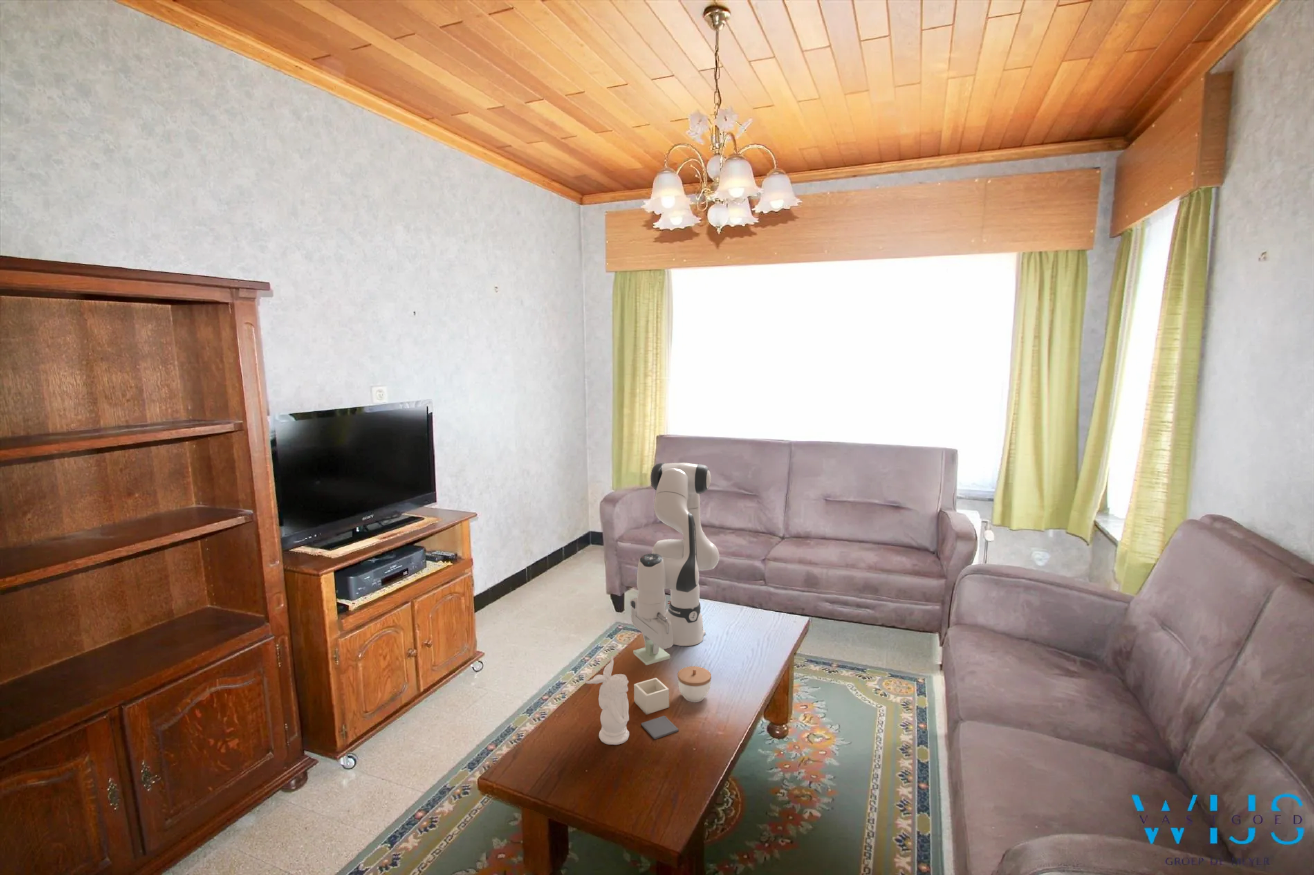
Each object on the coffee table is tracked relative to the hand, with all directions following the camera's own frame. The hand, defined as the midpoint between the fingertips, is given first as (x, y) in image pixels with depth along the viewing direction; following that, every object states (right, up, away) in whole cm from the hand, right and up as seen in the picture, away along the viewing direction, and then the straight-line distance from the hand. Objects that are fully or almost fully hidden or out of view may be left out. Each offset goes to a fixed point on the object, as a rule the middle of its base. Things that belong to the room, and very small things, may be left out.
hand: (651, 650), depth 190 cm
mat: (+2, -19, -10) cm, 22 cm away
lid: (0, -2, 0) cm, 2 cm away
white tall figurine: (-13, -20, -14) cm, 28 cm away
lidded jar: (+13, -18, +6) cm, 23 cm away
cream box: (0, -18, +2) cm, 18 cm away
